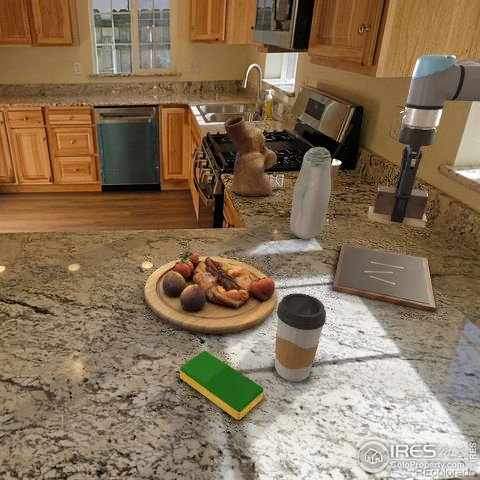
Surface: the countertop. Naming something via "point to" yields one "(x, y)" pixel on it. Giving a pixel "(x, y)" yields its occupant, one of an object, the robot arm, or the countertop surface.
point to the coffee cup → (298, 335)
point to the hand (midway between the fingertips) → (396, 217)
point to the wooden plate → (210, 294)
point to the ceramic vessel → (249, 158)
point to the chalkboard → (384, 276)
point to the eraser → (386, 205)
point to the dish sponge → (221, 384)
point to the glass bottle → (311, 194)
